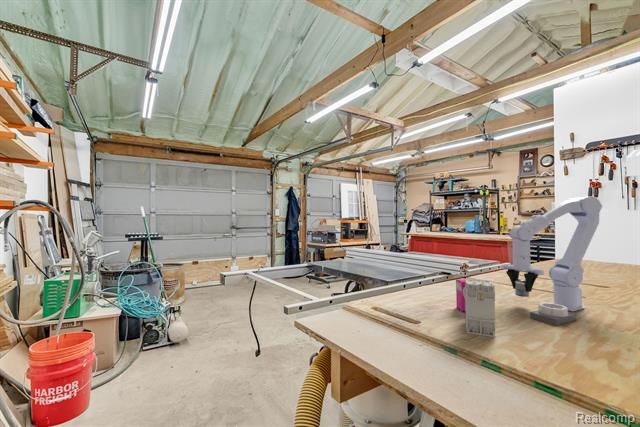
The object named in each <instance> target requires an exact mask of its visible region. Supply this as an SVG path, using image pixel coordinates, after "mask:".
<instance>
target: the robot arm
mask: <svg viewBox="0 0 640 427" xmlns="http://www.w3.org/2000/svg"><path fill="white" fill-rule="evenodd" d="M602 208H603V205H602V203H601V201H600V200H599V199H598V197H596V196H592V195H590V196H583V197H581V196H580V197H569V198H567V199H566V200H564V201H562V202H561V203H560V204H558V205H557V206H555V207H553V208H551V209H550V210H549V211H547V212H546V213H544V214H542V215H541V214H533V215H532V216H530V218H529V219H527V220H526V221H522V222H520V224H519V225H515V226H512V227H511V229H510V230H509V232H508V235H509V237H510V238H511V242H512V264H507V263H503V264H501V269H502V270H507V271H505V272H506V275H507V277H508V278H509V280H510V282H511V285H512V289H514V290H515V279H519V276H520V272H521V273H523V276H524V279H525V280H526V291H527V292H529V293H531V292H532V291H533V288H534V284H535V282H536V280H537V279H538V277H539V276H544V274H545V270H544V269H542V268H536V267H532V266H531V240H532V239H533V237H534V236H535V235H536V234H537V233H540V232H542V230H544V229H547V228H548V227H549V225H550V222H552V221H555V220H556V219H558V218H560V217H562V216H564V215H566V214H568V213H569V214H570V215H571V217H573V218H574V219H576V221H577V222H578V223H577V226H576V228H575V230H574V232H573V235H572V237H571V239H570V241H569V243H568V245H567V248H566V250H565V252H564V254H563V256H562V258H561V259H559V260H557V261H555V263H554V264H553V266H552V267H550V268H549V270H548V277H549V278H550V279H551V280H552V283H553V284H552V285H553V304H558V305H563V306H565V307H567V308H568V312H569V311H570V312H575V311H576V312H577V311H580V310H584V309H585V308H586V306H583V293H582V289H581V288H580V285H581V284H582V282H583V279H584V278H583V276H584V275H583V274H584V272H585V270H584V268H583V266H582V262H583V258H584V257H585V254H586V253H587V250H588V248H589V246H590V244H591V242H592V239H593V237H594V235H595V233H596V232H597V231H596V230H598V226H599V224H600V212H601V210H602Z"/></svg>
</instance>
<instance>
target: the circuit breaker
mask: <svg viewBox="0 0 640 427" xmlns="http://www.w3.org/2000/svg"><path fill="white" fill-rule="evenodd" d="M464 279H465V312H464V313H465V328H466V329H465V330H466V334H471V335H477V336H483V337H492V338H496V335H495V334H496V291H495V288H496V286H495V284H494V282H493V281H492V280H487V279H486V280H484V279H483V280H482V279H474V278H473V279H472V278H464Z"/></svg>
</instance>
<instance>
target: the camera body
mask: <svg viewBox="0 0 640 427" xmlns="http://www.w3.org/2000/svg"><path fill="white" fill-rule="evenodd" d="M553 303H554V302H553ZM553 303H552V302H539V303H538V309H536V310H534V311H530V312H529V318H530V319H532V320H537V321H539V320H540V321H539V322H543V321H544V322H543V323H546V322H548V323H547V324H550V323H551V324H550V325H553V324H554V325H553V326H556V325H557V326H560V324H561V325H564V324H567V322H568V323H571V322H574V320H575V321H577V314H576V313H572V312H569V310H568V308H567V307H565V306H563V305H558V304H553ZM570 321H571V322H570ZM563 323H564V324H563Z"/></svg>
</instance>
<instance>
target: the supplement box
mask: <svg viewBox="0 0 640 427" xmlns="http://www.w3.org/2000/svg"><path fill="white" fill-rule="evenodd" d="M465 279H466V278H456V279H455V284H456V285H455V289H456V290H455V295H456V297H455V298H456V308H457V310H459V311H460V312H461V313H466V312H465Z"/></svg>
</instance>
